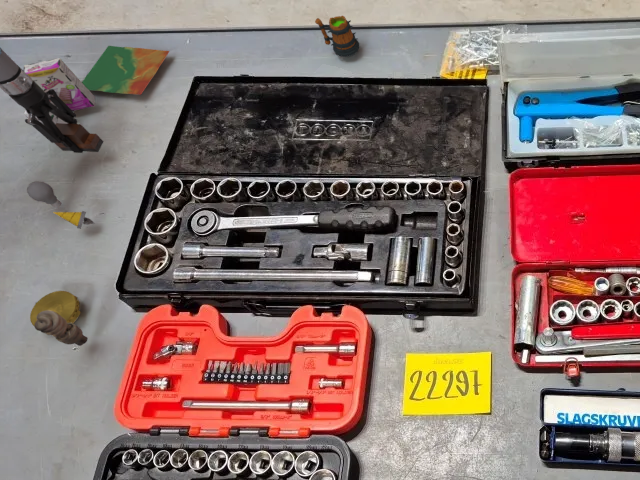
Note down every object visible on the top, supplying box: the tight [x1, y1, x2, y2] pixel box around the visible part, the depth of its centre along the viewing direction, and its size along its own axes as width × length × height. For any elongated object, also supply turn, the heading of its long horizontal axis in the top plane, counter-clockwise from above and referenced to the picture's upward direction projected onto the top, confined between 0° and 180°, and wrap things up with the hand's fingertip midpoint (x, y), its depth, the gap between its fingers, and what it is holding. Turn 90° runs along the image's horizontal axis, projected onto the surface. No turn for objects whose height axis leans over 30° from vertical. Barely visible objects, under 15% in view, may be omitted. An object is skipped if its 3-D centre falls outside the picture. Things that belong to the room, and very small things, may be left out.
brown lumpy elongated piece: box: [33, 310, 88, 347], centre depth 138 cm, size 6×6×15 cm
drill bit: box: [52, 210, 96, 230], centre depth 159 cm, size 5×5×10 cm
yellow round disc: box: [29, 290, 81, 327], centre depth 148 cm, size 12×12×2 cm
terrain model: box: [81, 45, 170, 96], centre depth 192 cm, size 25×22×1 cm
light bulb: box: [26, 180, 63, 209], centre depth 161 cm, size 6×6×10 cm
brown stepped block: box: [54, 123, 104, 153], centre depth 168 cm, size 12×4×8 cm, turn 86°
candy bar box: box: [22, 57, 96, 112], centre depth 177 cm, size 11×5×16 cm, turn 108°
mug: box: [314, 15, 361, 58], centre depth 190 cm, size 13×10×12 cm
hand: (82, 145), depth 172 cm, fingers closed on brown stepped block, 4 cm apart
